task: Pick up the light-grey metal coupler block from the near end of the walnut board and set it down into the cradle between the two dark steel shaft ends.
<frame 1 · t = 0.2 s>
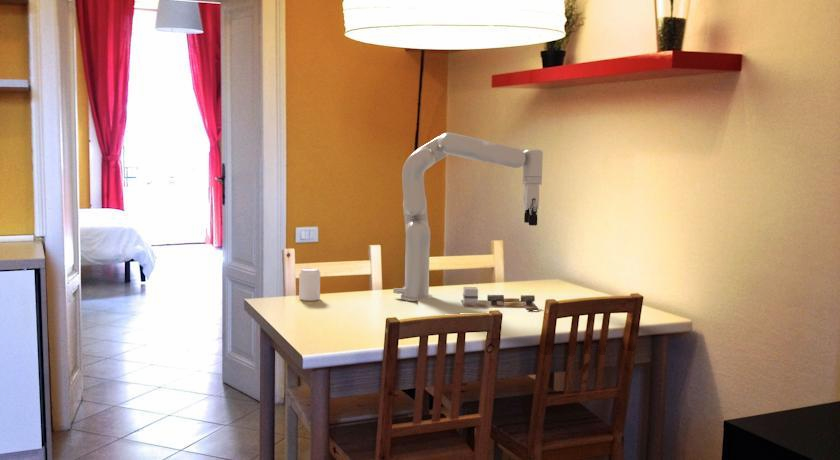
hand: (530, 223, 316), 31 cm above the table, fingers open, 9 cm apart
coupler: (470, 303, 305), point 1 cm above the table, touching rig
beverage can: (309, 300, 312), on the table
rig: (498, 307, 306), on the table
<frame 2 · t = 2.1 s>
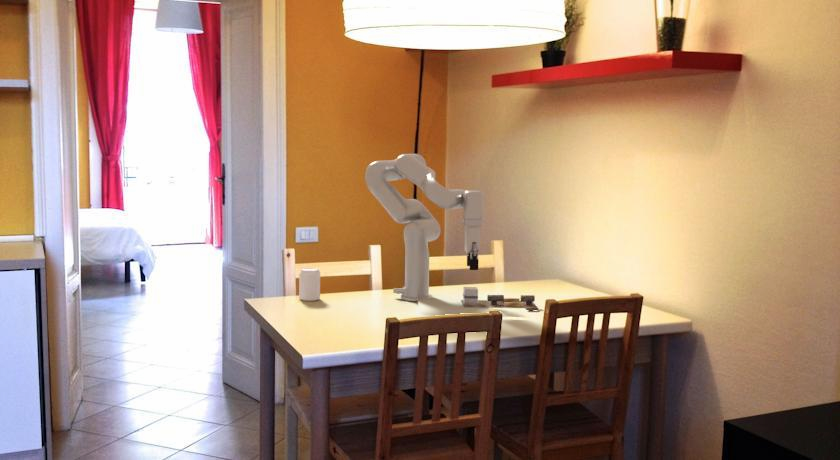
hand: (472, 267, 303), 15 cm above the table, fingers open, 9 cm apart
nothing on the table moved.
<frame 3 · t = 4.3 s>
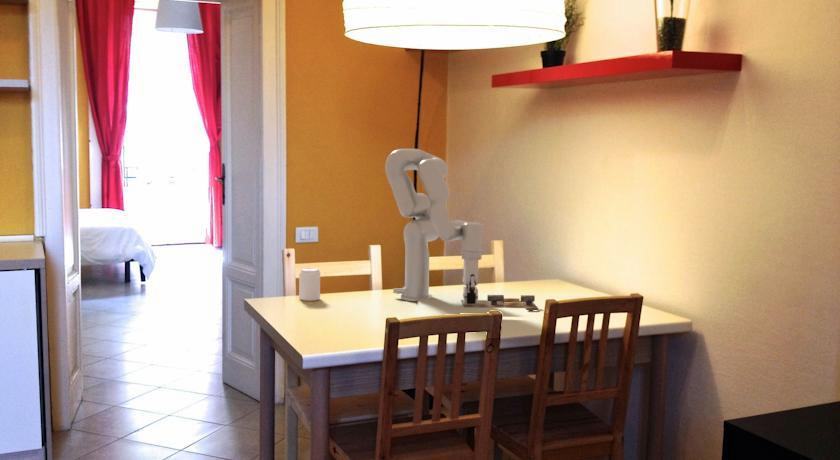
hand: (470, 301, 305), 2 cm above the table, fingers closed on coupler, 5 cm apart
coupler: (470, 303, 305), point 1 cm above the table, touching gripper, rig
everything else where it was.
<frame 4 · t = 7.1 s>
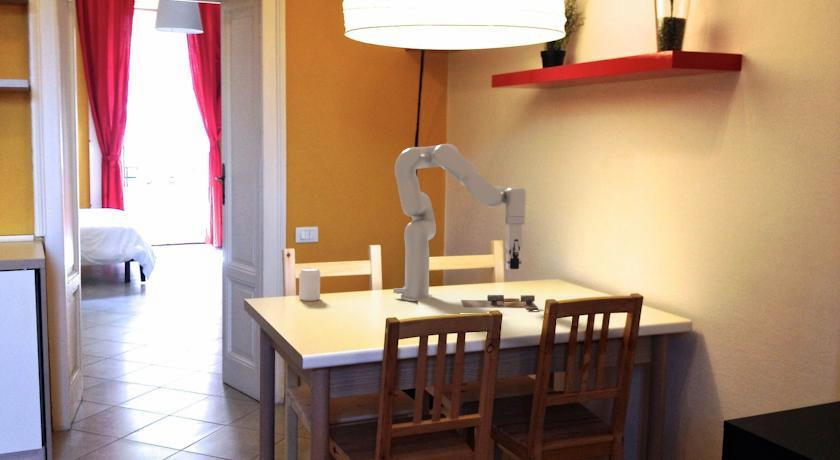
hand: (513, 267, 304), 16 cm above the table, fingers closed on coupler, 5 cm apart
coupler: (513, 269, 304), point 15 cm above the table, touching gripper
everything else where it was.
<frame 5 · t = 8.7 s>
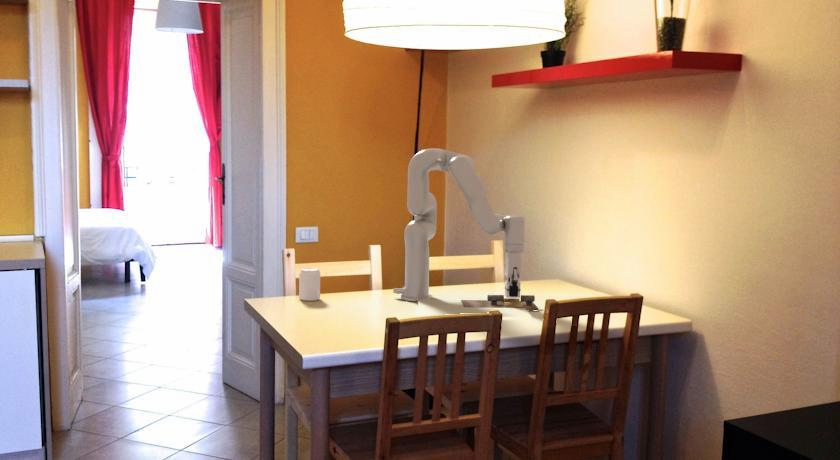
hand: (512, 294, 306), 5 cm above the table, fingers closed on coupler, 5 cm apart
coupler: (512, 296, 306), point 4 cm above the table, touching gripper
everything else where it was.
when the fingers open (3 cm above the table, at t = 9.9 s): coupler drops 1 cm, resting on rig.
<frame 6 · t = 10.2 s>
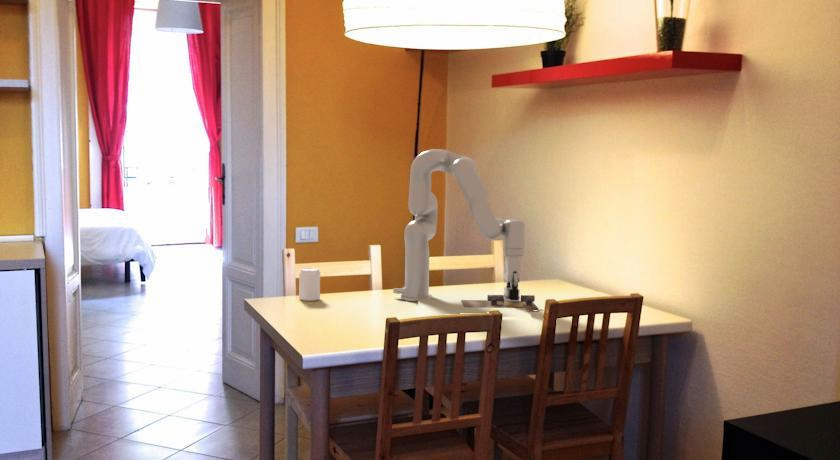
hand: (511, 297, 306), 4 cm above the table, fingers open, 7 cm apart
coupler: (511, 304, 306), point 1 cm above the table, touching rig
everything else where it was.
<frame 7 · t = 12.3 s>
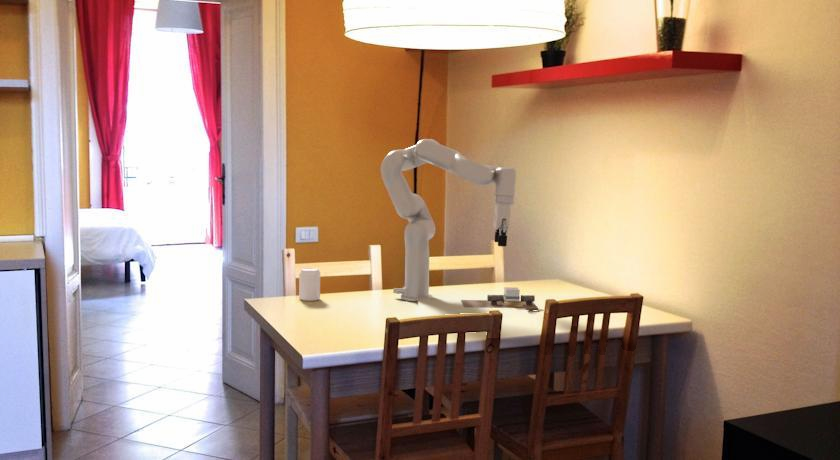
hand: (500, 244, 306), 24 cm above the table, fingers open, 9 cm apart
nothing on the table moved.
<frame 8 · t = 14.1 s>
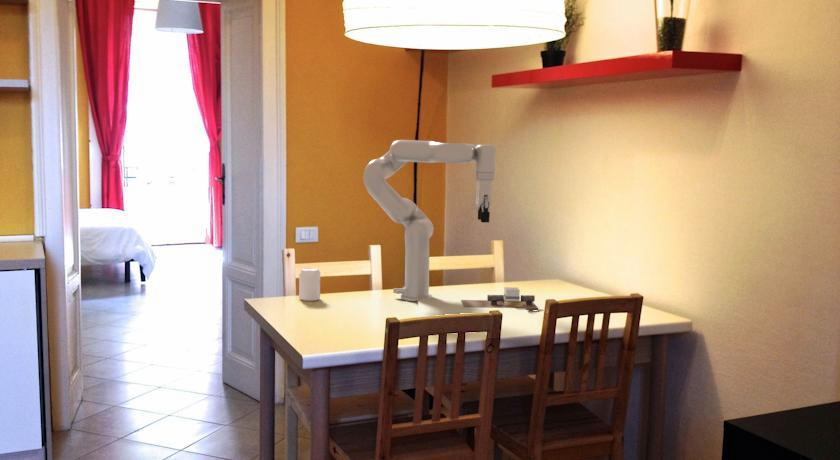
hand: (483, 220, 309), 32 cm above the table, fingers open, 9 cm apart
nothing on the table moved.
at the end: coupler 0.1 cm from the target spot on the rig, point 1.2 cm above the rig's base; coupler tilted 0°; the gripper is holding nothing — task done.
